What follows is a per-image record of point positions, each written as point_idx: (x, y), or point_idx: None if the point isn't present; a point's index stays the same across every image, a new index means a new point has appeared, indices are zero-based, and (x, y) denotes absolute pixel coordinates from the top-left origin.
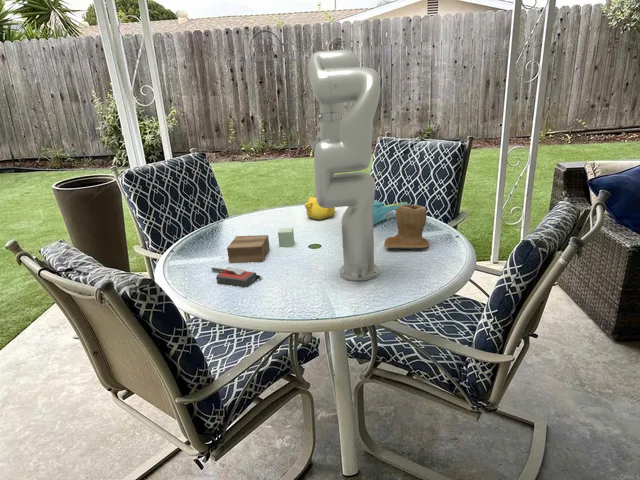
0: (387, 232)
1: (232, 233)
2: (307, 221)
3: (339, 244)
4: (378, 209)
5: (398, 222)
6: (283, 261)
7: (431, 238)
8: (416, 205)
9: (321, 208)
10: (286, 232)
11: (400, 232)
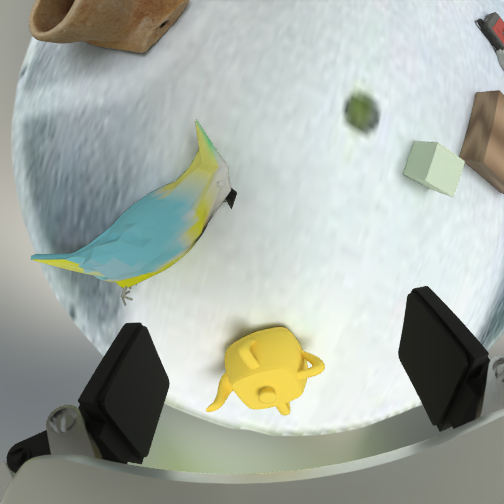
0: (125, 137)
1: (475, 309)
2: (313, 332)
3: (291, 91)
4: (104, 238)
5: None
6: (443, 66)
7: (60, 67)
8: (34, 29)
9: (274, 346)
10: (447, 149)
11: (128, 2)
